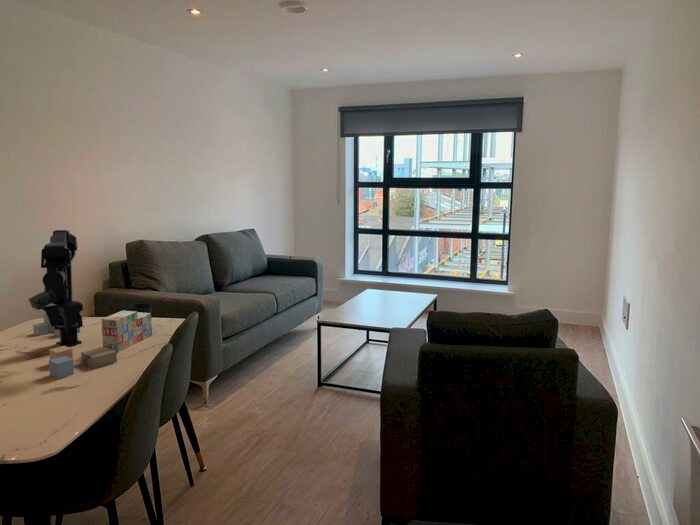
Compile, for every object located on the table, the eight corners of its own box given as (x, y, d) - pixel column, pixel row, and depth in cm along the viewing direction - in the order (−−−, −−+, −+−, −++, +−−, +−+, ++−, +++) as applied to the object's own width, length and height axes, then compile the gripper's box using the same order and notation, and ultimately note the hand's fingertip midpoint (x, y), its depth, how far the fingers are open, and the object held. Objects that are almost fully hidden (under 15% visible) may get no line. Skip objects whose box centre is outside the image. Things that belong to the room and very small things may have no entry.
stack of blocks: (138, 334, 207) (137, 304, 205) (152, 335, 206) (151, 305, 204) (102, 351, 187) (101, 318, 185) (118, 352, 185) (116, 319, 183)
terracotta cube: (50, 363, 173) (49, 349, 172) (65, 359, 177) (64, 345, 176) (57, 367, 170) (56, 352, 169) (73, 362, 174) (72, 348, 174)
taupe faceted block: (81, 363, 174) (80, 352, 174) (104, 357, 181) (104, 346, 180) (94, 369, 170) (93, 357, 169) (117, 362, 176) (116, 351, 176)
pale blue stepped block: (33, 334, 204) (32, 314, 202) (64, 327, 214) (63, 308, 212) (49, 340, 197) (47, 320, 196) (80, 332, 207) (79, 313, 206)
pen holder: (157, 328, 215) (156, 305, 213) (137, 334, 207) (136, 310, 205) (142, 324, 220) (141, 302, 218) (122, 330, 212) (121, 306, 210)
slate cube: (49, 375, 163) (48, 360, 163) (65, 370, 167) (64, 355, 167) (58, 378, 161) (57, 363, 160) (74, 374, 165) (73, 359, 164)
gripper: (17, 282, 168) (20, 329, 170) (47, 291, 158) (50, 340, 160) (52, 277, 177) (55, 321, 179) (82, 285, 167) (85, 331, 169)
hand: (60, 328), depth 172 cm, fingers open, 9 cm apart
